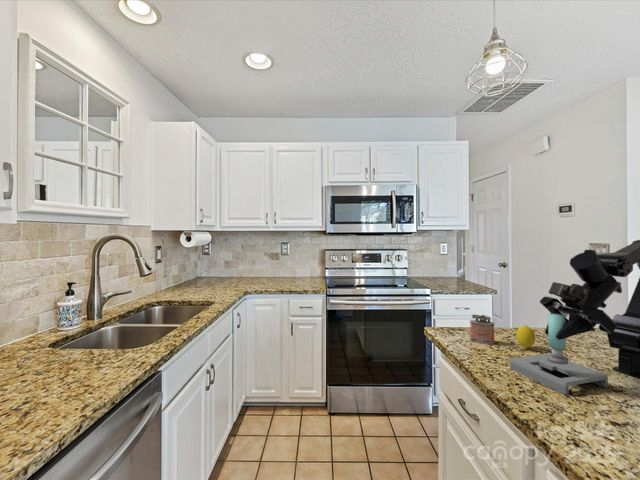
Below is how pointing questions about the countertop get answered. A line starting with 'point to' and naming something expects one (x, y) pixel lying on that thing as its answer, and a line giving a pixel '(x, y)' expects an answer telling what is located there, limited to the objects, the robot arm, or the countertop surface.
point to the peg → (557, 345)
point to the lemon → (525, 336)
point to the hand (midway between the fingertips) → (551, 336)
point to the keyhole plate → (560, 384)
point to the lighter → (482, 330)
